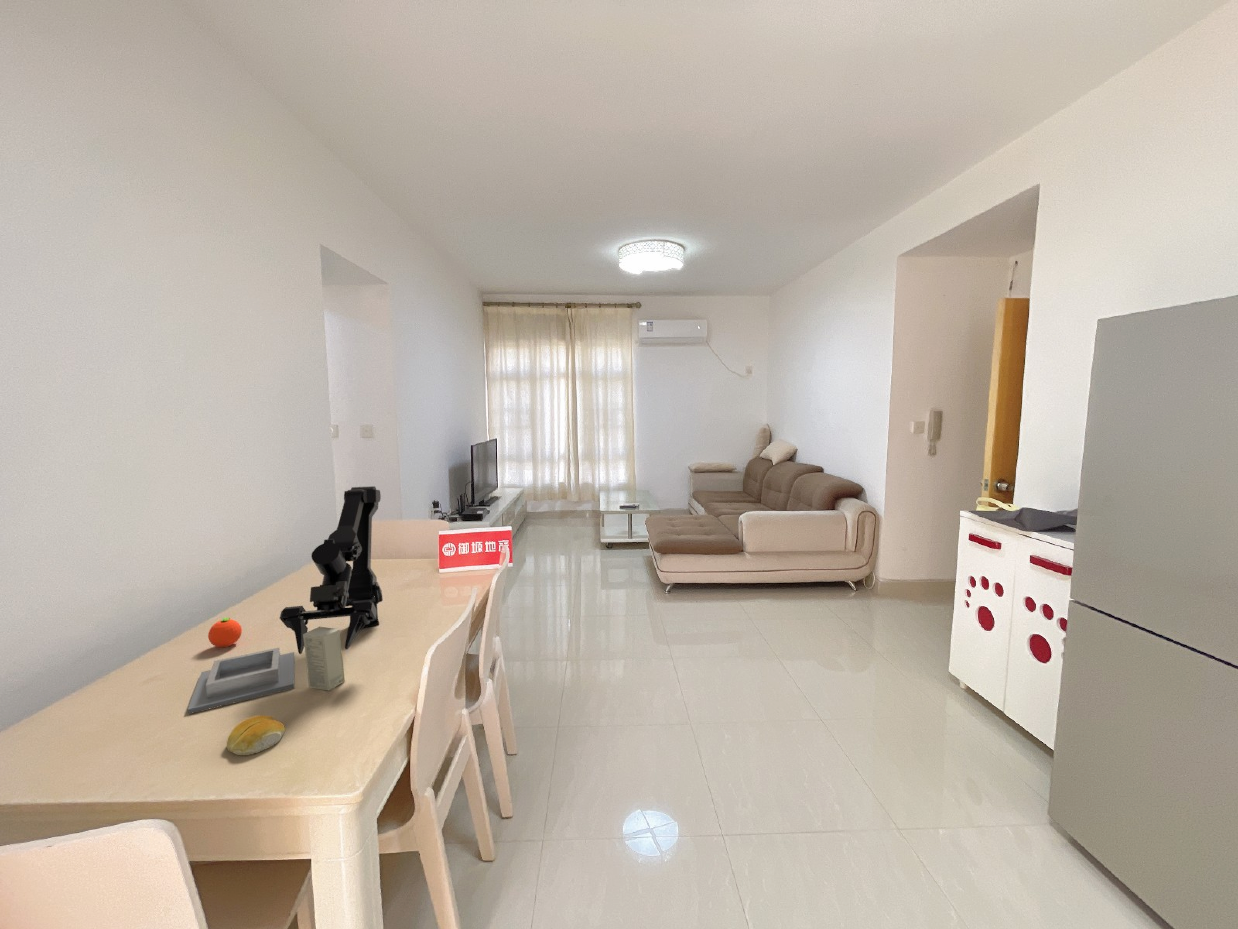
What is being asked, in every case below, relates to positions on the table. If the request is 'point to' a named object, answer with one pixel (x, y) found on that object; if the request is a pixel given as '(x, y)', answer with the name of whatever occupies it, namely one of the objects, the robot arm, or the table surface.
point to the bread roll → (255, 735)
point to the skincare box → (324, 658)
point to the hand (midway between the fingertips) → (323, 651)
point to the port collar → (244, 681)
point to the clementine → (225, 633)
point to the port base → (285, 683)
